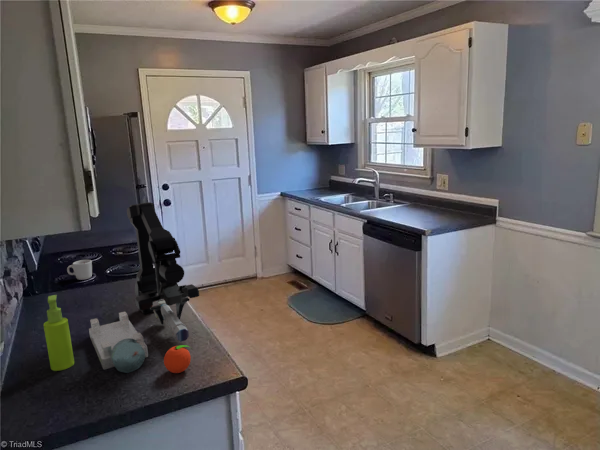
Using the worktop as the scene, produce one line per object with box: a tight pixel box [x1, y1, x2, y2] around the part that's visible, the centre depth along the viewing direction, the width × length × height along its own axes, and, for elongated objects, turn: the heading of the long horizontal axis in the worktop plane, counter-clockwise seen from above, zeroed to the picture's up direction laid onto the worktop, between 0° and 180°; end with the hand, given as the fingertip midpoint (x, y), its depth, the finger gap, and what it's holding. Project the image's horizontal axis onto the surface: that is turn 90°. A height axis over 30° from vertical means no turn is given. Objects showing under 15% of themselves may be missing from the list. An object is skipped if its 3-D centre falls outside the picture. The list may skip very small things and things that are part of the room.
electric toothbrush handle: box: [153, 300, 190, 342], centre depth 137 cm, size 5×7×25 cm
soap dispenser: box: [43, 294, 75, 372], centre depth 120 cm, size 6×7×20 cm
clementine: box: [163, 344, 193, 374], centre depth 115 cm, size 8×7×7 cm
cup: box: [66, 259, 93, 281], centre depth 200 cm, size 11×8×8 cm
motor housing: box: [88, 311, 149, 374], centre depth 128 cm, size 31×12×8 cm, turn 33°
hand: (170, 321), depth 137 cm, fingers closed on electric toothbrush handle, 5 cm apart
